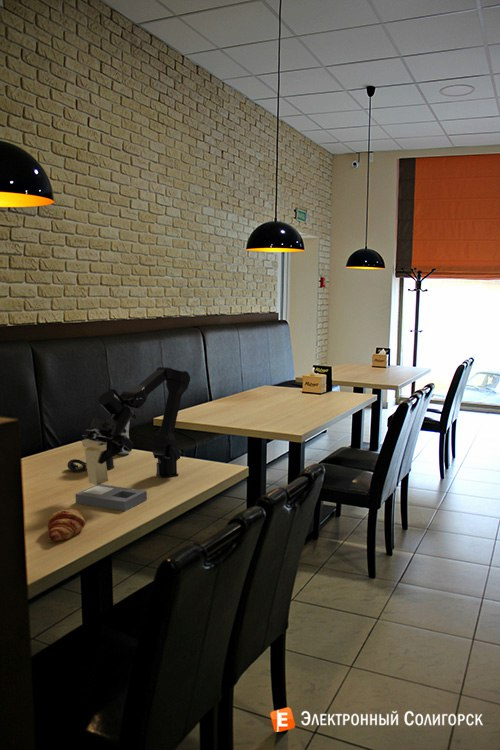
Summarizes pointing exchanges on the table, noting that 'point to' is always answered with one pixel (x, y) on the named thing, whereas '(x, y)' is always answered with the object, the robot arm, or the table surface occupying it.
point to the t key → (95, 461)
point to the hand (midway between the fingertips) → (94, 462)
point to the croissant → (65, 524)
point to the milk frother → (75, 467)
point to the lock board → (111, 497)
